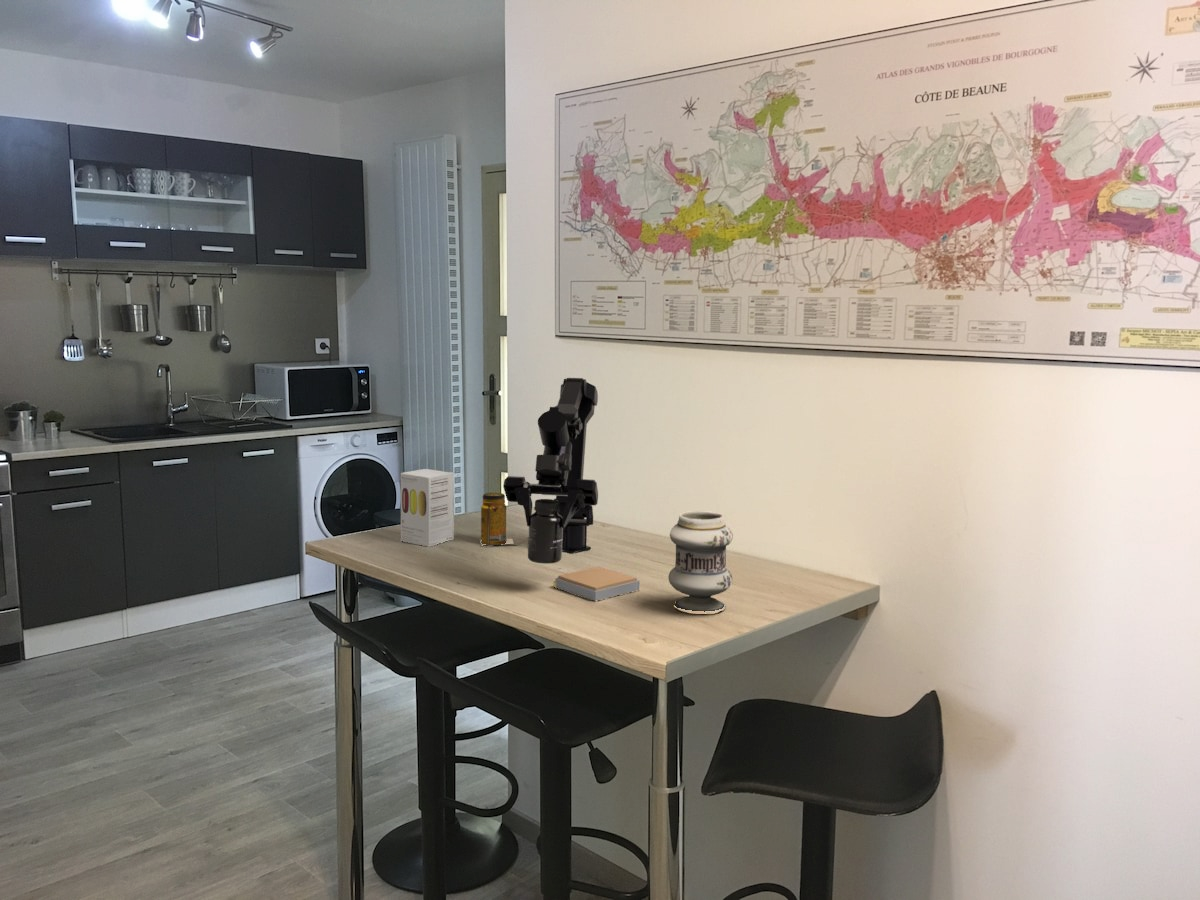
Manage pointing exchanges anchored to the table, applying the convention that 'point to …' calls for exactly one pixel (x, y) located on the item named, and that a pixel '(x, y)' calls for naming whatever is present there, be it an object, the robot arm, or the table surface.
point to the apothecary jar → (700, 560)
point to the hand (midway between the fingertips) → (545, 526)
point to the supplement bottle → (545, 532)
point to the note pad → (596, 583)
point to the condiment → (493, 519)
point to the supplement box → (427, 507)
